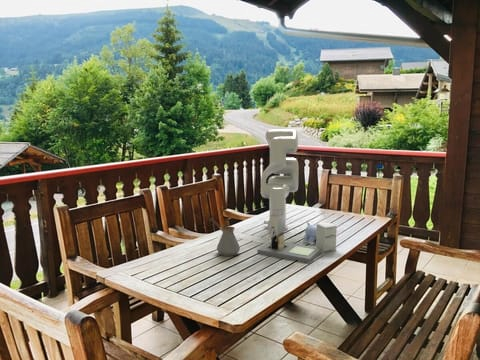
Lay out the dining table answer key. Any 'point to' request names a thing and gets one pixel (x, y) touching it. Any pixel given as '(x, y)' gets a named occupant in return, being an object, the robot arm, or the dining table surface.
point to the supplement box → (326, 236)
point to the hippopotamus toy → (310, 234)
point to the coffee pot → (227, 241)
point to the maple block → (279, 242)
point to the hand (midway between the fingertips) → (277, 246)
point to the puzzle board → (291, 252)
